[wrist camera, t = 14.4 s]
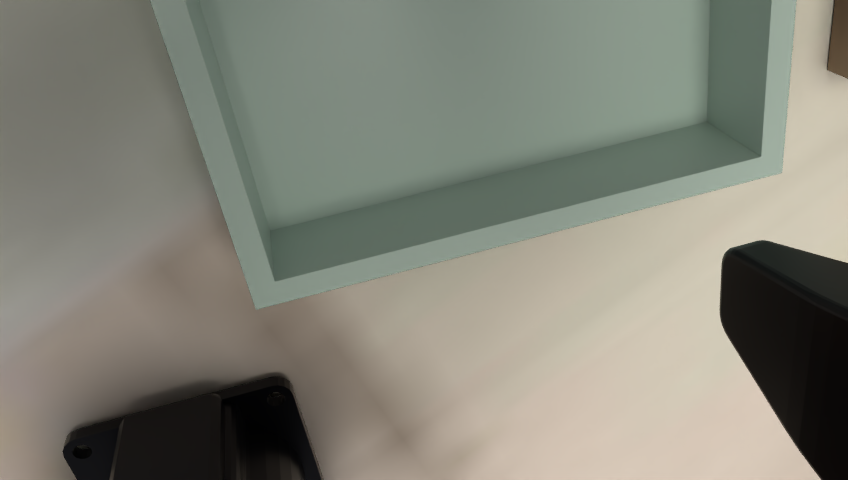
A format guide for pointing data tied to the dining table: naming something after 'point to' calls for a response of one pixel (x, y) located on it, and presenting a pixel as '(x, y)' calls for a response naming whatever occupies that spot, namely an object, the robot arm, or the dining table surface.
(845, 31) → the walnut pallet
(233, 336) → the dining table surface
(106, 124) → the dining table surface
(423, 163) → the sage tote
